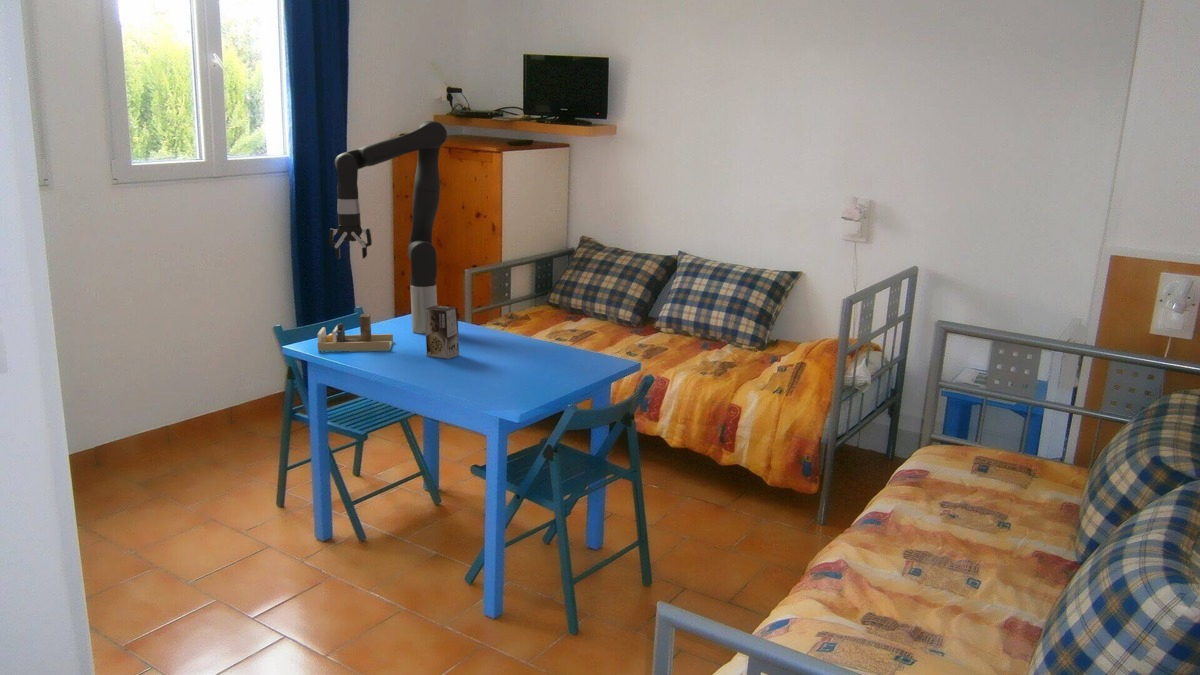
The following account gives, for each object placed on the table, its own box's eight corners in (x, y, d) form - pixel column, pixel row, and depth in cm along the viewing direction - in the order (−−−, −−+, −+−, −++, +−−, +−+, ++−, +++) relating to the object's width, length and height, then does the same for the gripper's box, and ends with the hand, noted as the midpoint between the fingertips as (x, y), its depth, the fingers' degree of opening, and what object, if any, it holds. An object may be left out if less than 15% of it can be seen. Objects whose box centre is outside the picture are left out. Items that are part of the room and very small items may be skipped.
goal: (341, 341, 323) (340, 324, 322) (336, 348, 314) (335, 331, 312) (323, 341, 323) (322, 325, 321) (318, 348, 313) (317, 331, 312)
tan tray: (393, 342, 326) (392, 333, 325) (389, 350, 315) (389, 341, 314) (323, 343, 323) (323, 335, 323) (318, 352, 312) (317, 343, 312)
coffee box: (459, 355, 310) (458, 307, 306) (448, 359, 304) (446, 310, 301) (437, 351, 314) (435, 304, 310) (425, 356, 308) (423, 308, 305)
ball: (331, 329, 319) (324, 338, 319) (329, 332, 315) (322, 341, 316) (341, 336, 320) (334, 345, 320) (339, 339, 316) (332, 348, 316)
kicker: (371, 340, 322) (370, 313, 320) (369, 344, 317) (368, 317, 314) (339, 341, 321) (338, 314, 319) (337, 345, 315) (335, 317, 313)
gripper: (371, 210, 328) (373, 256, 332) (329, 210, 327) (332, 257, 331) (368, 212, 321) (371, 259, 325) (325, 213, 320) (328, 260, 323)
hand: (351, 258), depth 328 cm, fingers open, 8 cm apart
